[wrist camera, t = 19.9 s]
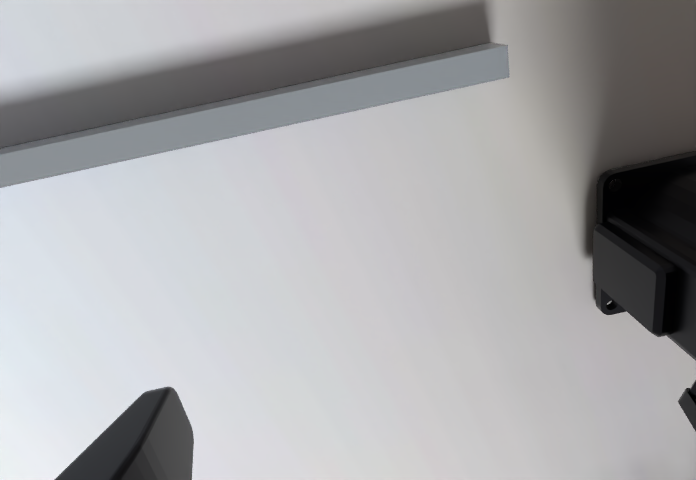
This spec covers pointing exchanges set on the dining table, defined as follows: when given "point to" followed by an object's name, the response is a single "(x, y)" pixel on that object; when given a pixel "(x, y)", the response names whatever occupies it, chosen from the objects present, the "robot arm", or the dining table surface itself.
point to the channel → (252, 113)
